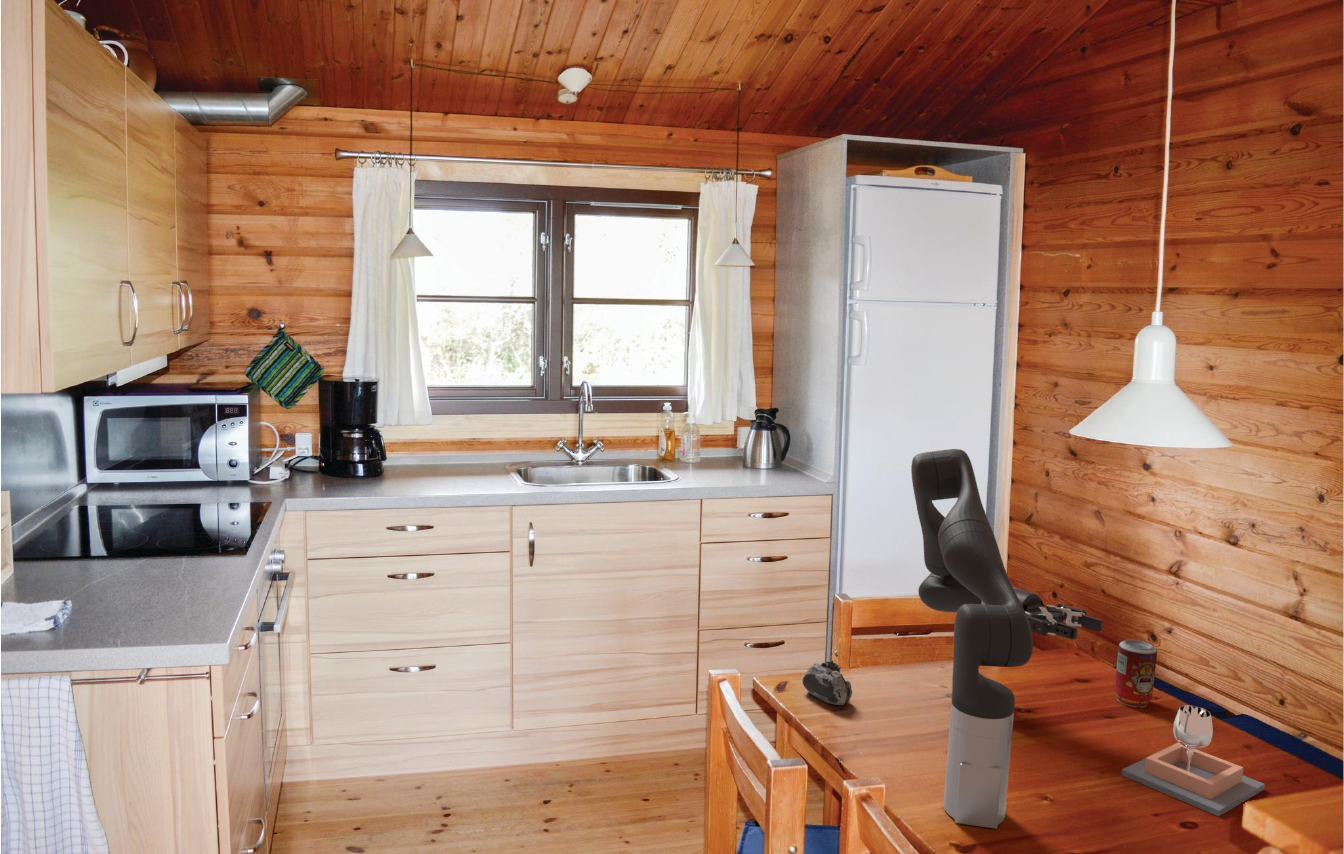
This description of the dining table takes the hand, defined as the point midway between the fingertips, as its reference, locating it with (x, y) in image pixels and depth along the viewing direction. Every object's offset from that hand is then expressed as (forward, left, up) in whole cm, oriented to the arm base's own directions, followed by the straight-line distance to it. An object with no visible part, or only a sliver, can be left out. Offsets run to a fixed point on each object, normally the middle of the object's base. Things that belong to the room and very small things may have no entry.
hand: (1089, 630), depth 178 cm
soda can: (+22, -14, -21) cm, 33 cm away
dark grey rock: (+5, +45, -21) cm, 50 cm away
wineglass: (-14, -15, -20) cm, 28 cm away
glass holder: (-12, -16, -21) cm, 29 cm away
